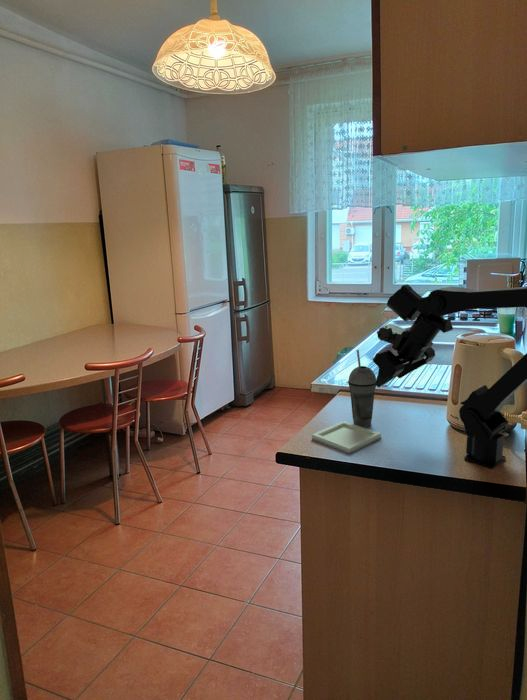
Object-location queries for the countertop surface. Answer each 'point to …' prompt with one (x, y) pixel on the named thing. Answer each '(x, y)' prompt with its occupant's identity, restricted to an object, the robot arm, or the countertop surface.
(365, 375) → the beverage cup
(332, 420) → the countertop surface
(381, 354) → the robot arm
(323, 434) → the tray
